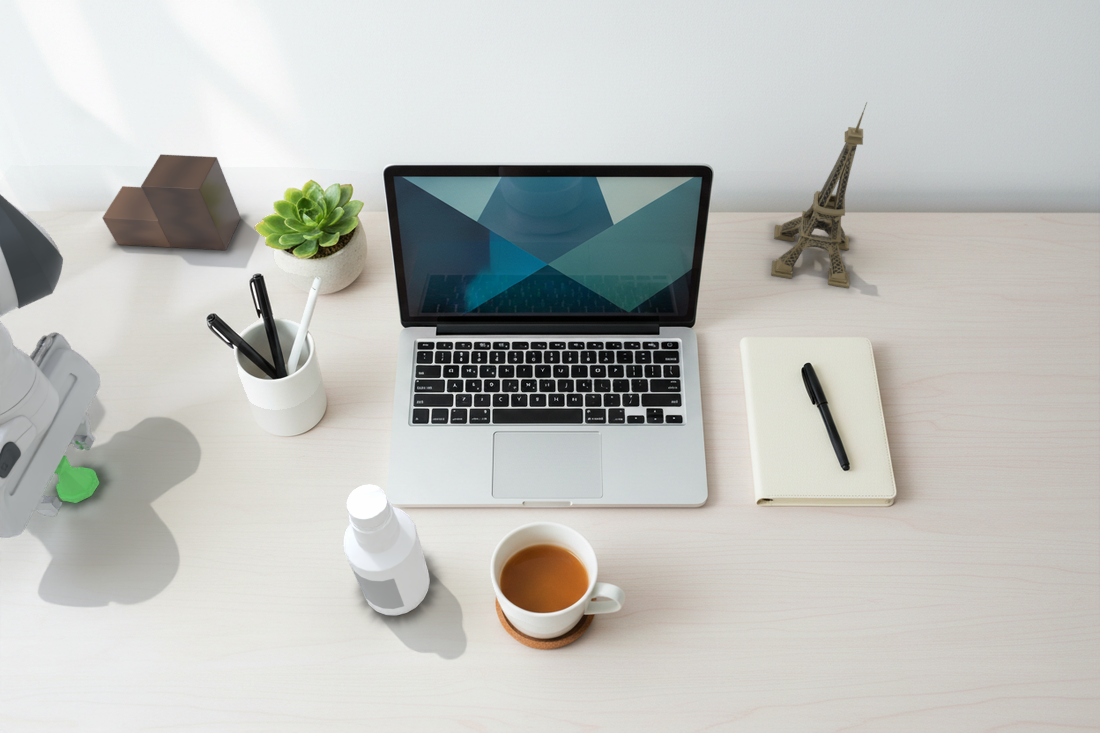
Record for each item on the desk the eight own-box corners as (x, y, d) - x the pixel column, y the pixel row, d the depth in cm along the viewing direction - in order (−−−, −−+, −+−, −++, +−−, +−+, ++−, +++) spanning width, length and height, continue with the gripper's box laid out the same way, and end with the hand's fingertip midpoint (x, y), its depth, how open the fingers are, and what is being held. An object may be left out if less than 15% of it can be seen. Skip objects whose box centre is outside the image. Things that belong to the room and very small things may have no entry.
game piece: (96, 499, 87) (70, 472, 82) (55, 506, 86) (27, 479, 82) (102, 467, 90) (77, 438, 85) (62, 473, 89) (35, 445, 84)
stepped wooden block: (117, 244, 113) (81, 183, 104) (136, 212, 117) (103, 151, 108) (225, 250, 112) (199, 189, 103) (241, 217, 116) (216, 156, 108)
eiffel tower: (847, 237, 115) (910, 83, 95) (848, 287, 108) (915, 134, 89) (775, 226, 116) (822, 72, 96) (771, 275, 110) (820, 121, 90)
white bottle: (365, 557, 83) (328, 470, 69) (429, 551, 83) (406, 463, 69) (362, 620, 79) (323, 541, 65) (430, 613, 79) (406, 533, 65)
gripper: (22, 321, 82) (83, 398, 93) (-89, 493, 69) (-4, 559, 80) (81, 325, 82) (135, 401, 93) (-20, 497, 69) (56, 563, 80)
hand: (70, 476), depth 86 cm, fingers open, 7 cm apart
